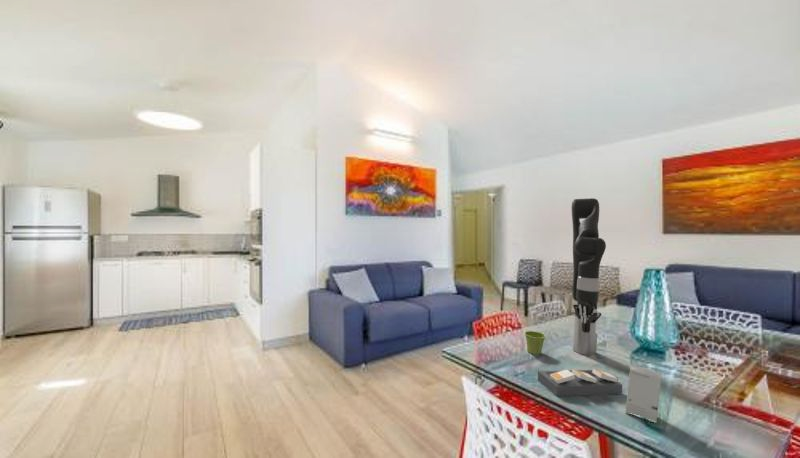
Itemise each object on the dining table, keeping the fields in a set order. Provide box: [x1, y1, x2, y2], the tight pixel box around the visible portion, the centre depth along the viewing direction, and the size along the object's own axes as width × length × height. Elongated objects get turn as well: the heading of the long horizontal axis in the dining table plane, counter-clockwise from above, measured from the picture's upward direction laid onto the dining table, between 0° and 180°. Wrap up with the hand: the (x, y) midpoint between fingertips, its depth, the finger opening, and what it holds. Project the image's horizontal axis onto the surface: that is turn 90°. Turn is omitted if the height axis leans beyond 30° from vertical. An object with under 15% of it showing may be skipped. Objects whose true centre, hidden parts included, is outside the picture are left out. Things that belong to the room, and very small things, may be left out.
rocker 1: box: [550, 369, 575, 384], centre depth 120 cm, size 7×4×2 cm, turn 98°
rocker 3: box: [591, 368, 619, 382], centre depth 122 cm, size 7×4×2 cm, turn 99°
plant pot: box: [524, 330, 547, 355], centre depth 157 cm, size 9×9×9 cm
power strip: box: [537, 369, 623, 397], centre depth 124 cm, size 32×12×4 cm, turn 98°
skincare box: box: [625, 364, 662, 423], centre depth 106 cm, size 8×6×15 cm
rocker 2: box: [571, 368, 597, 383], centre depth 121 cm, size 7×4×2 cm, turn 99°
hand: (585, 331), depth 129 cm, fingers closed
